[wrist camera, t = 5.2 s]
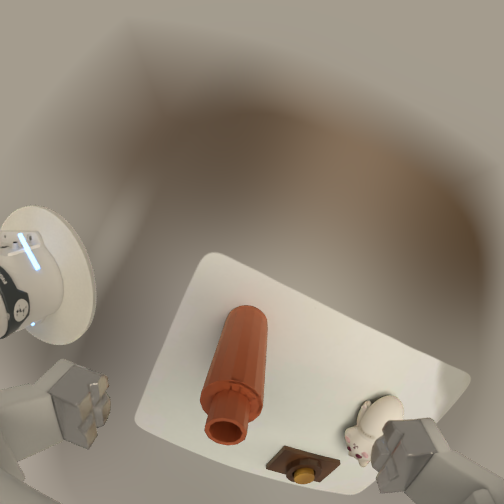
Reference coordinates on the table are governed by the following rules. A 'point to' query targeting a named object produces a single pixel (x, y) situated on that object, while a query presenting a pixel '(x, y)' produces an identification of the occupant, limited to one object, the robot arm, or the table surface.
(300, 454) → the brown button base
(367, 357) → the table surface
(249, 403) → the orange bottle
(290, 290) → the table surface
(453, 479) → the robot arm
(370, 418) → the cat figurine
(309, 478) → the button
